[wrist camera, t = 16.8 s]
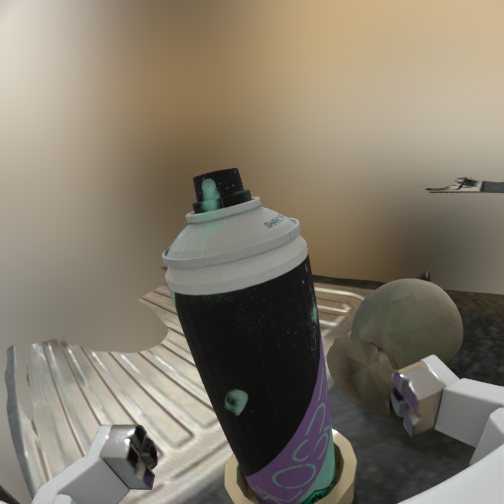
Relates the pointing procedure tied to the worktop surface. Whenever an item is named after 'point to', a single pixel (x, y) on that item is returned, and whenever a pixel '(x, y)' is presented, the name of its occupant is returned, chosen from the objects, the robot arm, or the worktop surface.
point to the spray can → (256, 337)
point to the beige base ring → (336, 500)
